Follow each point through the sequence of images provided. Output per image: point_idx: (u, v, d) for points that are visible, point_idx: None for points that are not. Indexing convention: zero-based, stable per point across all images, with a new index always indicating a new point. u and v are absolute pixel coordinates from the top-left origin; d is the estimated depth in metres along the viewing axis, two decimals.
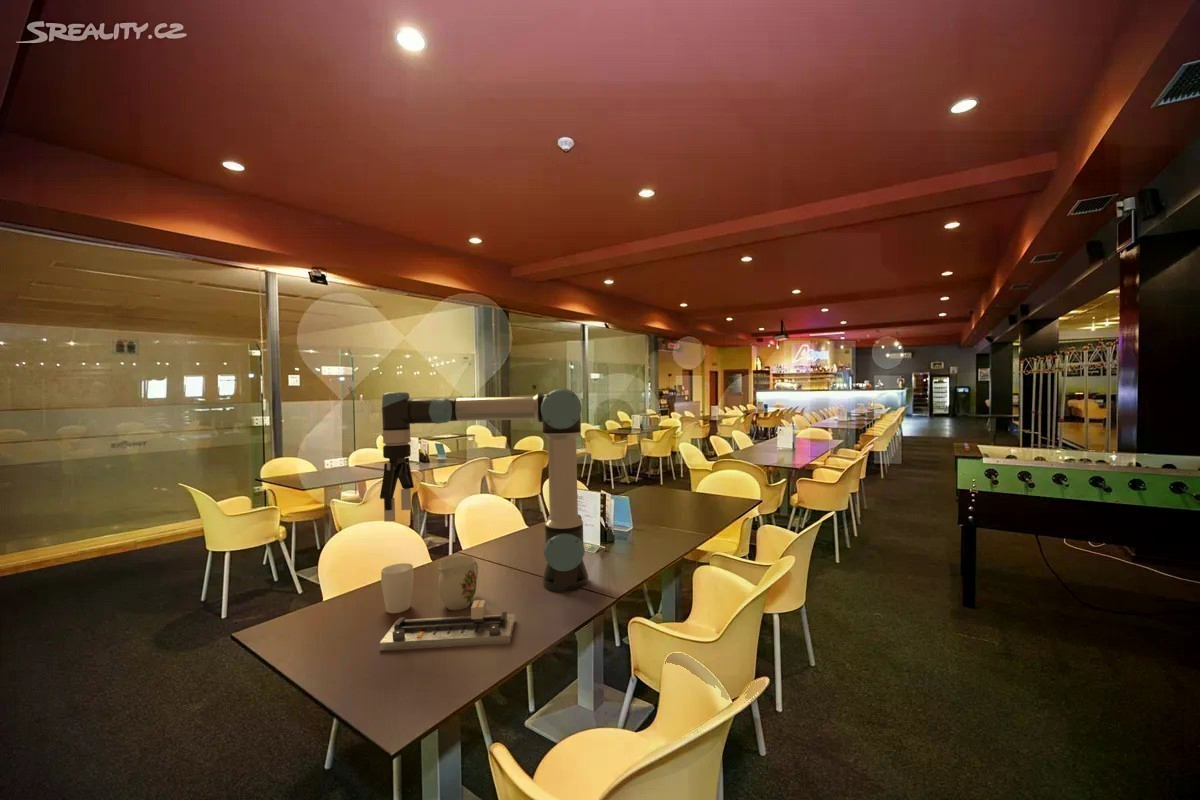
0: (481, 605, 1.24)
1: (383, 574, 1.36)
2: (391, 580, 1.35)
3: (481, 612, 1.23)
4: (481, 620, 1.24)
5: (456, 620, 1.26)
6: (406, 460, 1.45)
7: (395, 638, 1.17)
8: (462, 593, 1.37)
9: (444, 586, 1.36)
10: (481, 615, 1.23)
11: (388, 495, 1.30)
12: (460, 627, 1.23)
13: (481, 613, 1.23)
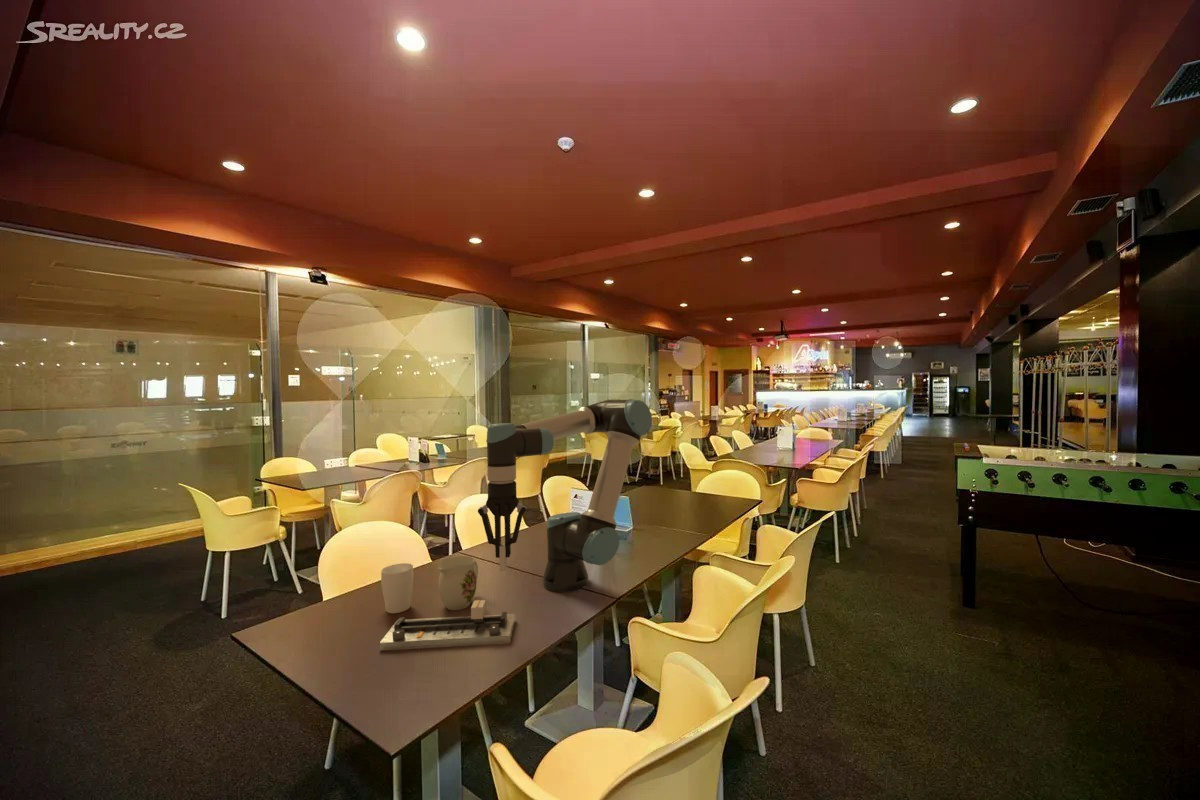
0: (481, 605, 1.24)
1: (383, 574, 1.36)
2: (391, 580, 1.35)
3: (481, 612, 1.23)
4: (481, 620, 1.24)
5: (456, 620, 1.26)
6: (521, 508, 1.25)
7: (395, 638, 1.17)
8: (462, 593, 1.37)
9: (444, 586, 1.36)
10: (481, 615, 1.23)
11: (489, 542, 1.24)
12: (460, 627, 1.23)
13: (481, 613, 1.23)
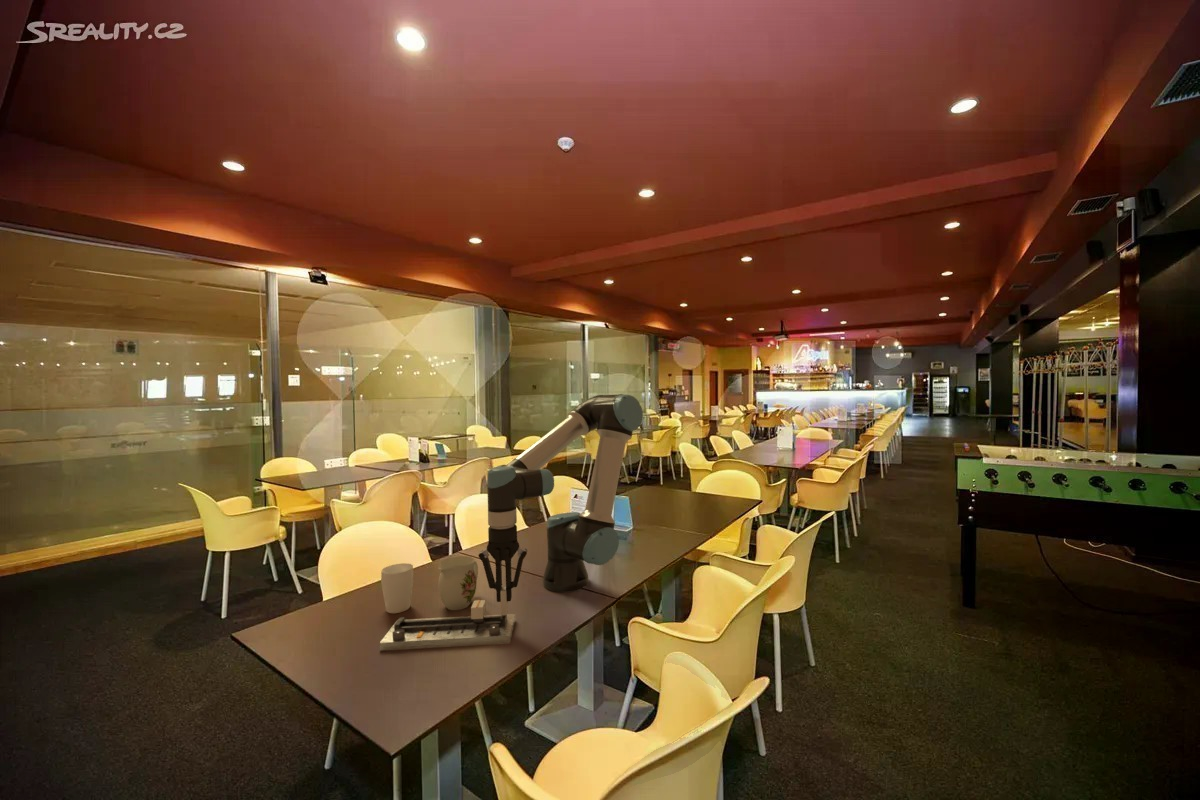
0: (481, 605, 1.24)
1: (383, 574, 1.36)
2: (391, 580, 1.35)
3: (481, 612, 1.23)
4: (481, 620, 1.24)
5: (456, 620, 1.26)
6: (522, 552, 1.25)
7: (395, 638, 1.17)
8: (462, 593, 1.37)
9: (444, 586, 1.36)
10: (481, 615, 1.23)
11: (490, 587, 1.24)
12: (460, 627, 1.23)
13: (481, 613, 1.23)
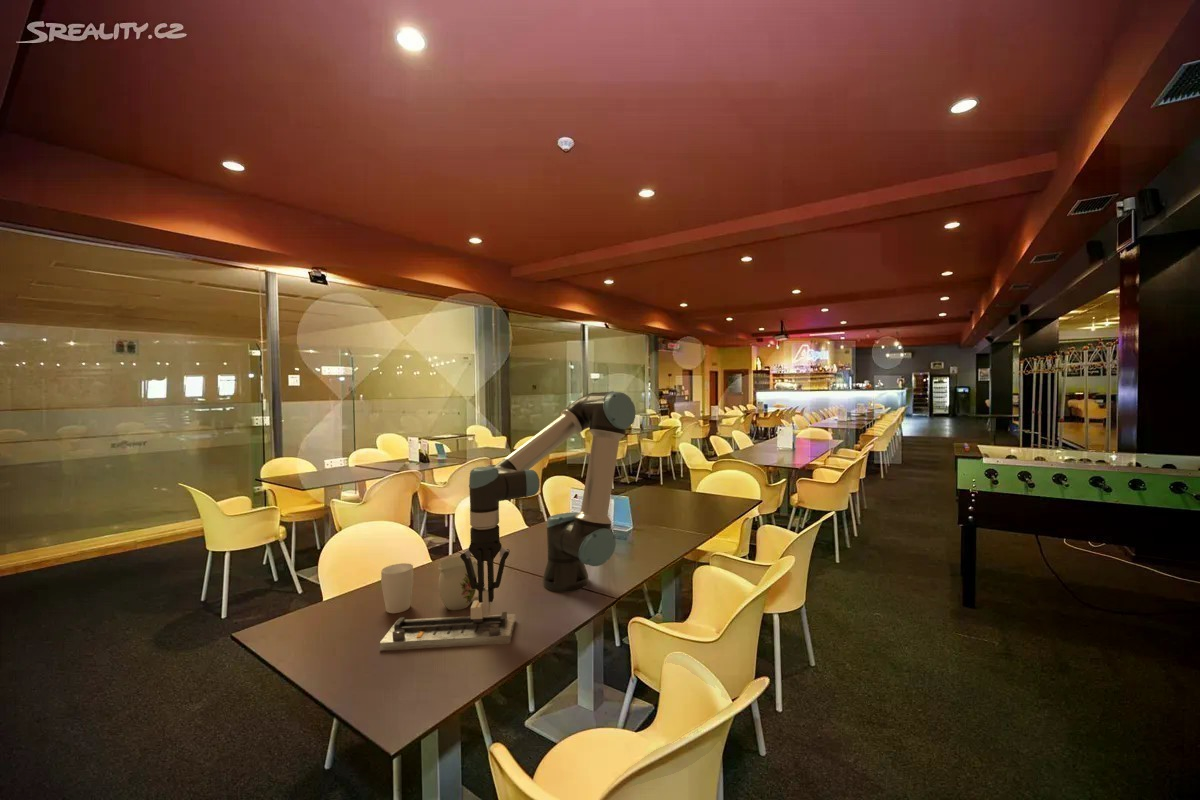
0: (480, 605, 1.24)
1: (383, 574, 1.36)
2: (391, 580, 1.35)
3: (481, 612, 1.23)
4: (481, 620, 1.24)
5: (456, 620, 1.26)
6: (504, 553, 1.24)
7: (395, 638, 1.17)
8: (462, 593, 1.37)
9: (444, 586, 1.36)
10: (481, 615, 1.23)
11: (471, 587, 1.24)
12: (460, 627, 1.23)
13: (481, 613, 1.23)
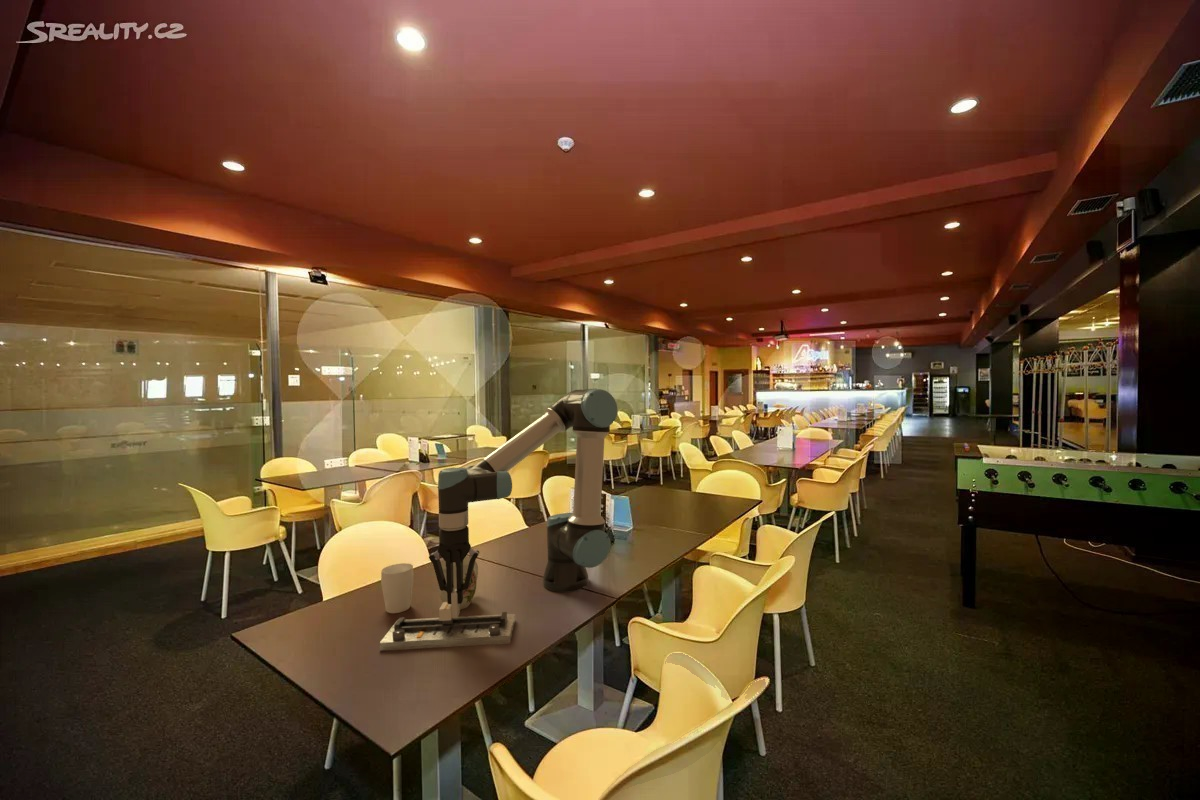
0: (449, 606, 1.23)
1: (383, 574, 1.36)
2: (391, 580, 1.35)
3: (449, 614, 1.22)
4: (449, 622, 1.23)
5: (456, 620, 1.26)
6: (473, 554, 1.24)
7: (395, 638, 1.17)
8: None
9: None
10: (449, 617, 1.22)
11: None
12: (460, 627, 1.23)
13: (449, 615, 1.22)
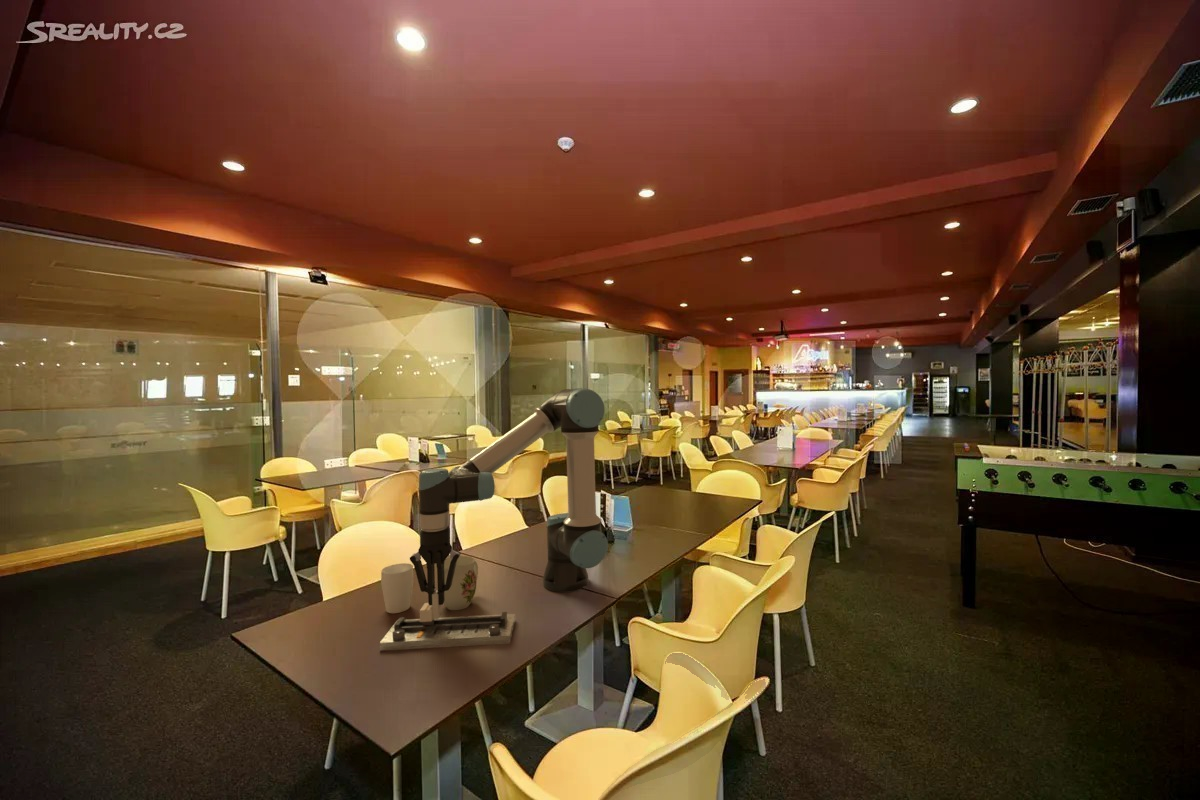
0: (430, 607, 1.23)
1: (383, 574, 1.36)
2: (391, 580, 1.35)
3: (430, 615, 1.22)
4: (430, 623, 1.23)
5: (456, 620, 1.26)
6: (454, 555, 1.24)
7: (395, 638, 1.17)
8: (462, 593, 1.37)
9: None
10: (430, 618, 1.22)
11: None
12: (460, 627, 1.23)
13: (430, 616, 1.22)
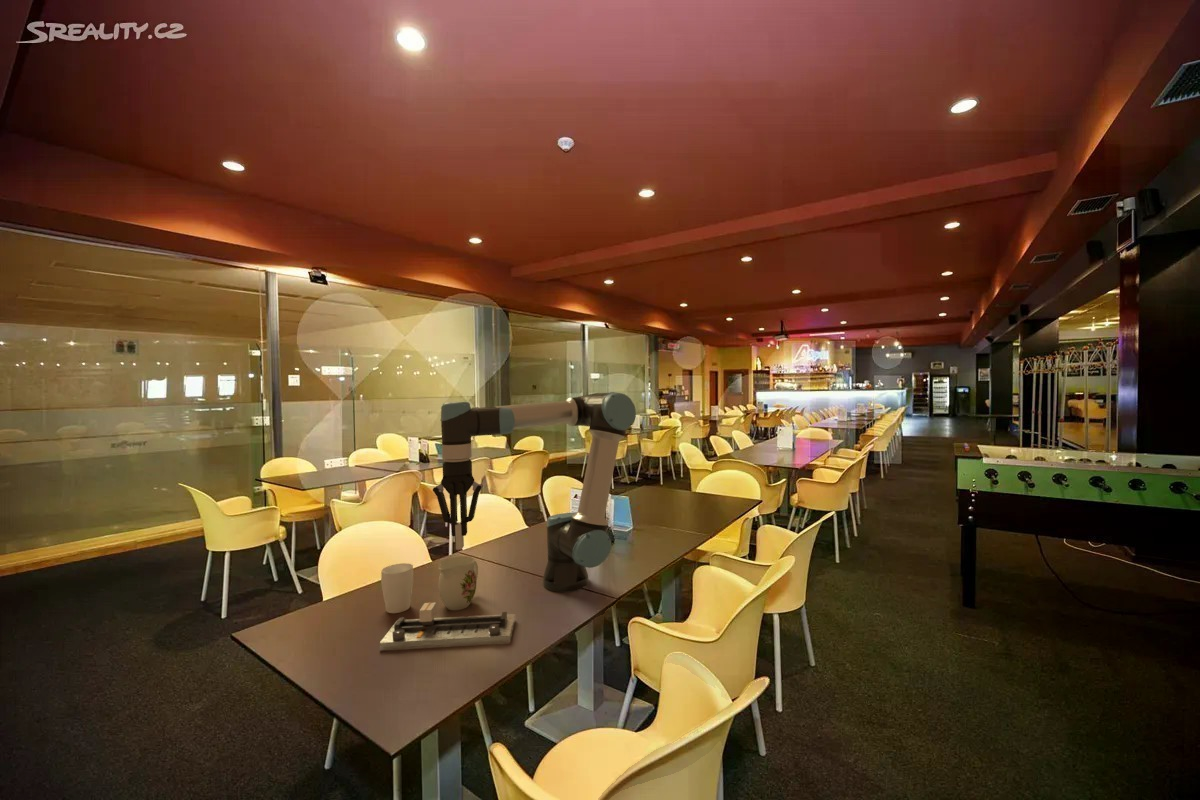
0: (430, 607, 1.23)
1: (383, 574, 1.36)
2: (391, 580, 1.35)
3: (430, 615, 1.22)
4: (430, 623, 1.23)
5: (456, 620, 1.26)
6: (476, 486, 1.24)
7: (395, 638, 1.17)
8: (462, 593, 1.37)
9: (444, 586, 1.36)
10: (430, 618, 1.22)
11: None
12: (460, 627, 1.23)
13: (430, 616, 1.22)
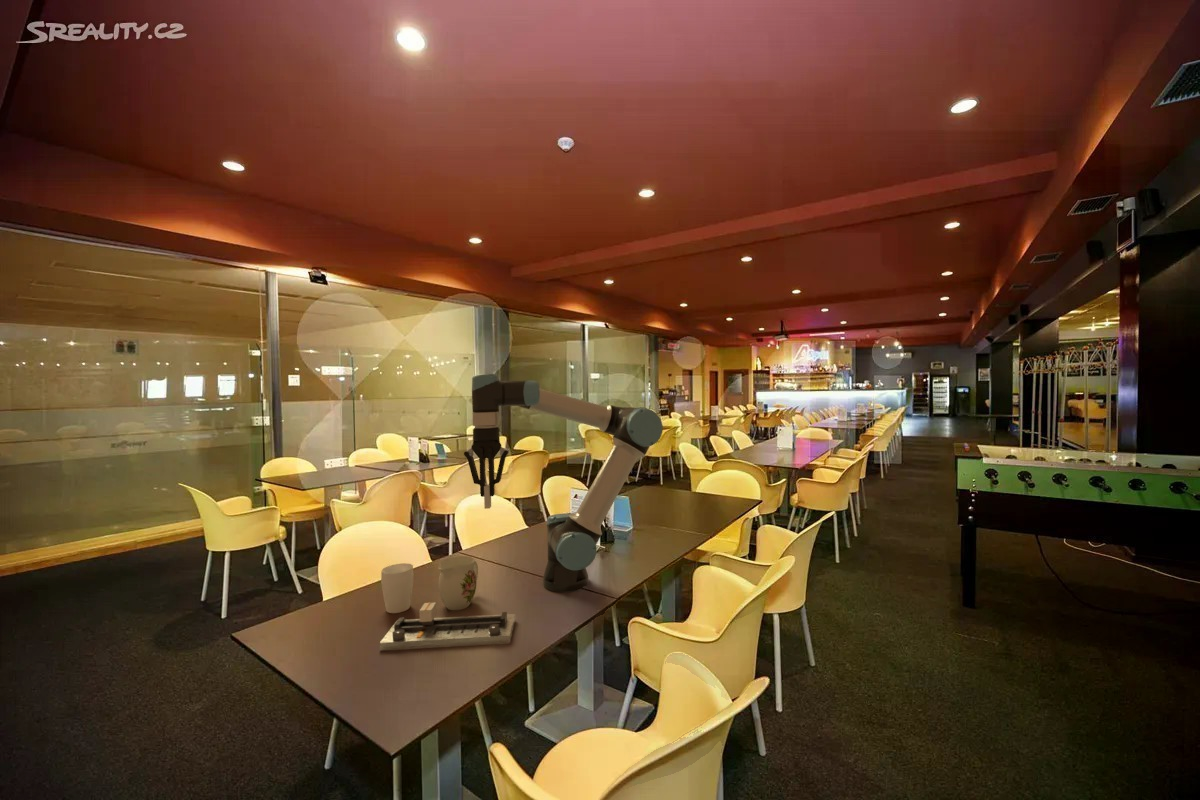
0: (430, 607, 1.23)
1: (383, 574, 1.36)
2: (391, 580, 1.35)
3: (430, 615, 1.22)
4: (430, 623, 1.23)
5: (456, 620, 1.26)
6: (503, 451, 1.36)
7: (395, 638, 1.17)
8: (462, 593, 1.37)
9: (444, 586, 1.36)
10: (430, 618, 1.22)
11: (474, 482, 1.35)
12: (460, 627, 1.23)
13: (430, 616, 1.22)
